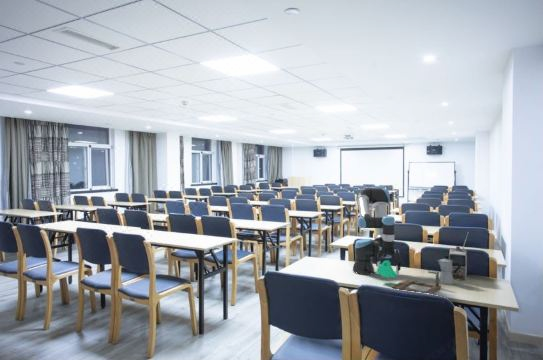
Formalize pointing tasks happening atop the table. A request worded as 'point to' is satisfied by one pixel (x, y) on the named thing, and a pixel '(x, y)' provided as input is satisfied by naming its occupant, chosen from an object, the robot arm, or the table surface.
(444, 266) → the coffee maker
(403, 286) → the open wooden square frame
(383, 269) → the camera mount
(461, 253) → the portable television
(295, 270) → the table surface
